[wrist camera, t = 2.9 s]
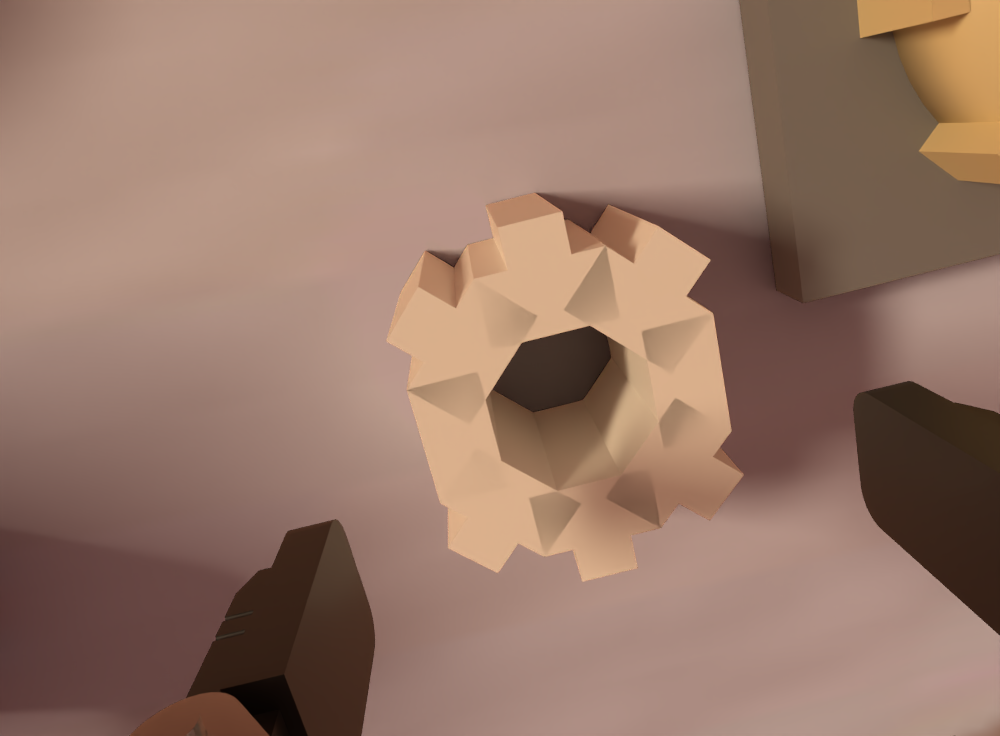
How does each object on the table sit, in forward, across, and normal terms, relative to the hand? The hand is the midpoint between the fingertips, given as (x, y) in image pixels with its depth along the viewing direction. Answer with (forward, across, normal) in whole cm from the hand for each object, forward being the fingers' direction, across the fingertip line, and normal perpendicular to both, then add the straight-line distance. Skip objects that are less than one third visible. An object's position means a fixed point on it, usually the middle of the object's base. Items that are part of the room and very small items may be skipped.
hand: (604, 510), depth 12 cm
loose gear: (+8, 0, 0) cm, 8 cm away
